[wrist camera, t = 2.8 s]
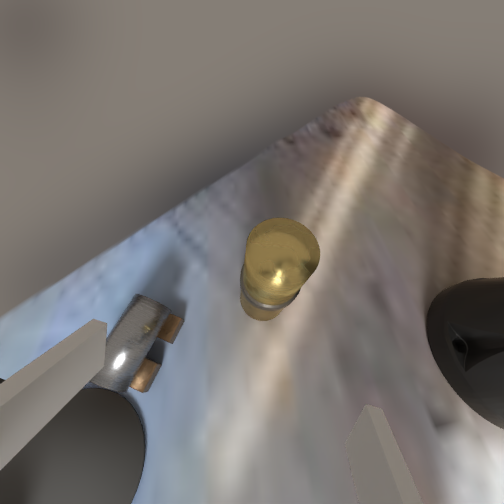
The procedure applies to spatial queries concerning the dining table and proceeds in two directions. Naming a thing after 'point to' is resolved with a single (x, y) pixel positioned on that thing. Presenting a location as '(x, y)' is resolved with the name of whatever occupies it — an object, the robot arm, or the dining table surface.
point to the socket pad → (80, 455)
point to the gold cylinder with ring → (276, 266)
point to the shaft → (136, 345)
